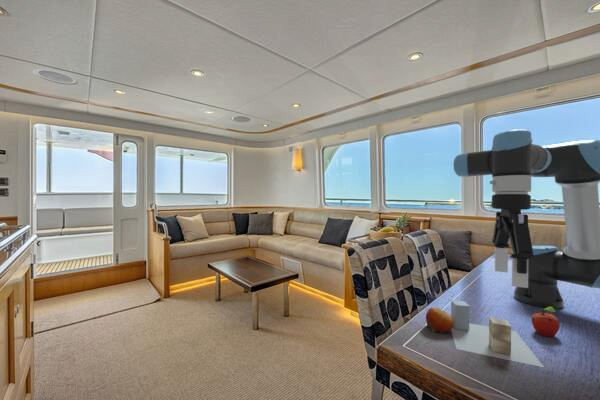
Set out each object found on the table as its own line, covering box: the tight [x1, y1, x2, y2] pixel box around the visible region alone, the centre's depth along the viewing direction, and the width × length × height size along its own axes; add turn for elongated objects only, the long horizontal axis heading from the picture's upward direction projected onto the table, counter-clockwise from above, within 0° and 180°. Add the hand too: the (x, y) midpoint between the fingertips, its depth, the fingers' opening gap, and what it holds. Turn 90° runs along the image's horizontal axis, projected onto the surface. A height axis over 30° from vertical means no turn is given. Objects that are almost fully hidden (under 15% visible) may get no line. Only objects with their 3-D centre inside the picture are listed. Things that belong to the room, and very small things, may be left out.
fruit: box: [425, 307, 454, 334], centre depth 82 cm, size 8×8×8 cm
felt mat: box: [450, 322, 545, 368], centre depth 76 cm, size 19×19×1 cm
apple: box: [531, 307, 561, 338], centre depth 79 cm, size 8×7×10 cm
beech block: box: [488, 316, 512, 355], centre depth 71 cm, size 4×4×8 cm
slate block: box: [450, 299, 470, 331], centre depth 83 cm, size 4×4×8 cm
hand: (509, 278), depth 64 cm, fingers open, 12 cm apart
